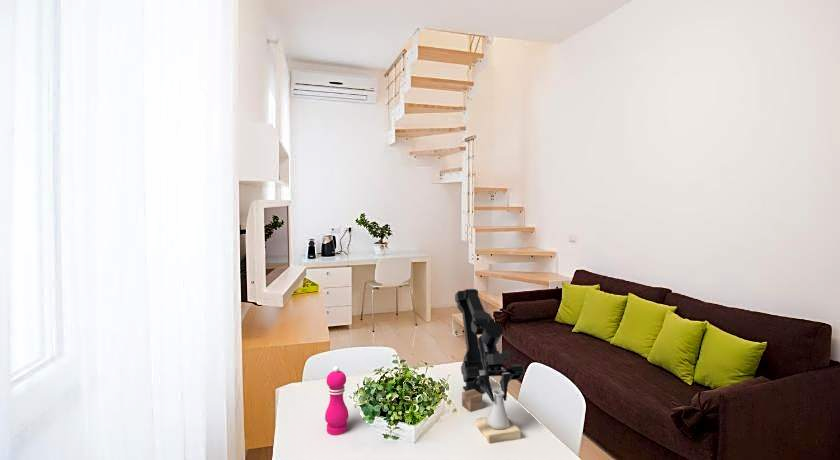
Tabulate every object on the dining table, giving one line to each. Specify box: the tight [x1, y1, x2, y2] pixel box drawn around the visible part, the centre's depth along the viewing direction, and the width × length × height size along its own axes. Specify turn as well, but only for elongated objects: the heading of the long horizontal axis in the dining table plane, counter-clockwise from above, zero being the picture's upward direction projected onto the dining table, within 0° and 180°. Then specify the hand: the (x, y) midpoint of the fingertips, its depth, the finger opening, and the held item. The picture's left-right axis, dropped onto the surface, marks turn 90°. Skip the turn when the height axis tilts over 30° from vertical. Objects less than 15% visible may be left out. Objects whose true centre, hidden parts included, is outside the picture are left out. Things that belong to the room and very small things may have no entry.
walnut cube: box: [461, 389, 483, 413], centre depth 141 cm, size 5×5×5 cm
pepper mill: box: [324, 365, 350, 436], centre depth 127 cm, size 7×7×20 cm
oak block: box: [475, 416, 522, 445], centre depth 125 cm, size 10×10×3 cm
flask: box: [486, 389, 510, 429], centre depth 125 cm, size 7×7×10 cm
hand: (499, 401), depth 124 cm, fingers open, 3 cm apart
